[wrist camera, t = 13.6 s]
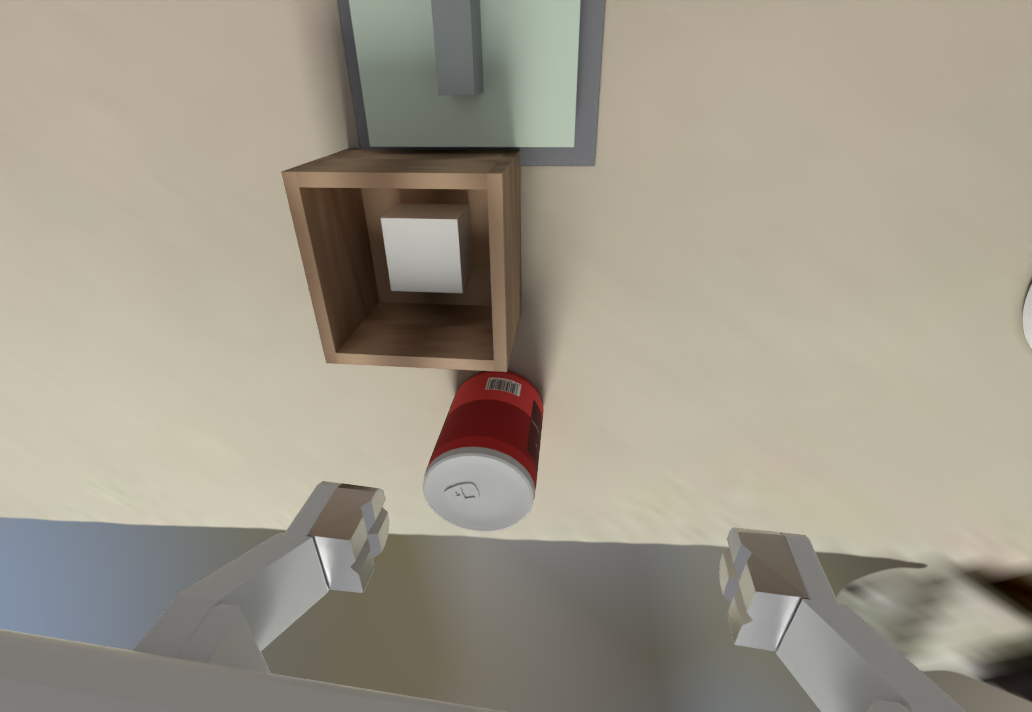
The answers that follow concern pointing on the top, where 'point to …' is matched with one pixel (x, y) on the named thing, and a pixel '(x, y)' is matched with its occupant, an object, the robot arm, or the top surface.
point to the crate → (363, 264)
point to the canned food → (487, 453)
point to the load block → (428, 247)
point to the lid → (468, 71)
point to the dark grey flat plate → (529, 156)
